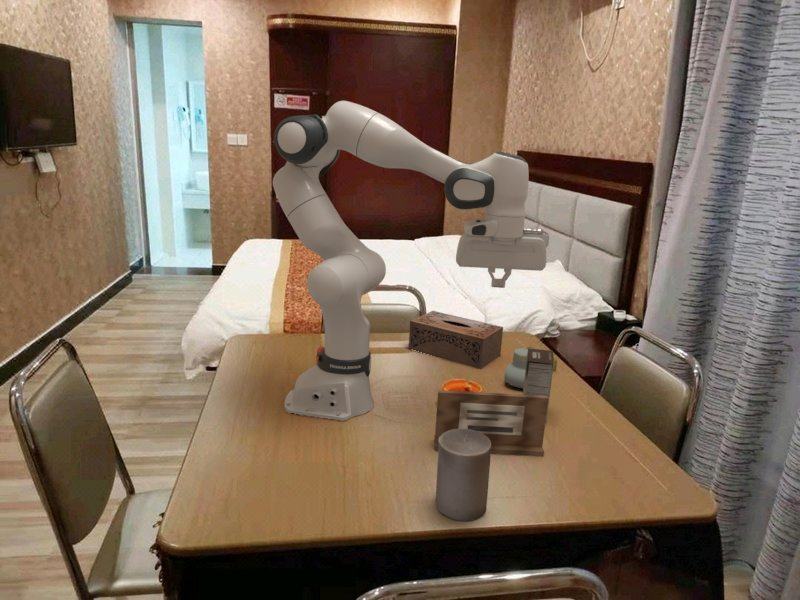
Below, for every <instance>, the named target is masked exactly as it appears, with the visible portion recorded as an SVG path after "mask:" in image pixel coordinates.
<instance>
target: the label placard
mask: <svg viewBox="0 0 800 600" xmlns="http://www.w3.org/2000/svg"><path fill="white" fill-rule="evenodd" d="M547 406H548V407H549V405H548V396H543V395H524V394H523V393H522V394H521V393H520V394H519V393H499V392H480V391H462V390H461V391H460V390H444V389H443V390H440V389H438V390H437V402H436V413H435V414H436V416H435V417H436V418H435V429H434V430H435V431H434V436H433V437H434V438H433V443H434V451H435V452H439V442H438V440H439V437H440V436H441V435H442V434H443V433H445V432H446V431H449V430H452V429H471V430H474V431H478V432H480V433H482V434H484V435H486V436H487V437H488V438H489V440H490V441H491V455H509V456H510V455H511V456H512V455H513V456H527V457H528V456H530V457H531V456H532V457H544V456H545V455H544V454H545V451H544V448H543V444H544V435H545V427H546V423H545V421H546V422H547V420H546V414H547V415H548V412H547Z"/></svg>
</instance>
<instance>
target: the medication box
mask: <svg viewBox="0 0 800 600" xmlns="http://www.w3.org/2000/svg"><path fill="white" fill-rule="evenodd" d="M529 348H530V349H536V348H535V347H533V346H528V347H526V348H525V349H529ZM557 363H558V359H556V358H554V367H553V373H554V372H557V367H558V366H557V365H558V364H557Z"/></svg>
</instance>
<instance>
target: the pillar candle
mask: <svg viewBox="0 0 800 600" xmlns="http://www.w3.org/2000/svg"><path fill="white" fill-rule="evenodd" d="M438 442H439V451H437V452H438V454H437V469H436V472H437V473H436V485H435V488H436V489H435V501H434V502H435V507H436V509H437V511H438V512H439V513H441V514H442V515H444V516H446V517H448V518H449V519H452V520H453V521H454V520H455V521H458V522H459V521H460V522H468V521H469V522H470V521H473V520H477V519H480V517H482V516H483V515H484V514H485V512H487V505H488V495H489V494H488V493H489V481H490V468H491V456H492V454H491V441H490V440H489V438H488V437H487V436H486V435H484V434H482V433H480V432H478V431H474V430H471V429H452V430H449V431H446V432H445V433H443V434H442V435H441V436H440V437H439V440H438Z"/></svg>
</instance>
